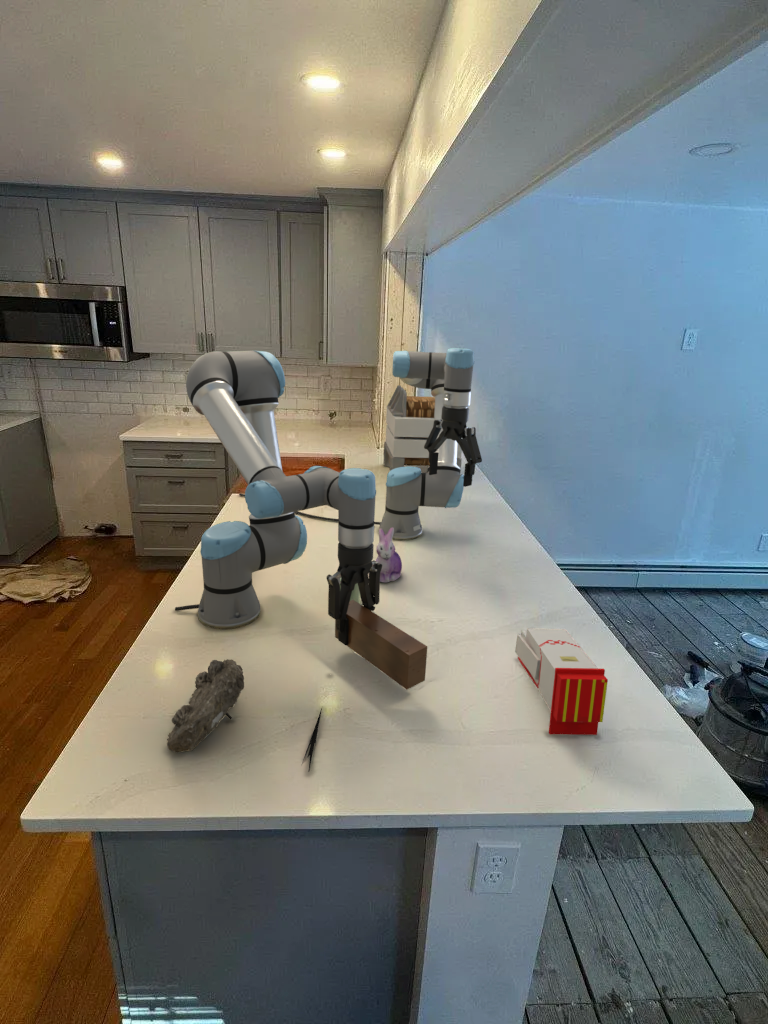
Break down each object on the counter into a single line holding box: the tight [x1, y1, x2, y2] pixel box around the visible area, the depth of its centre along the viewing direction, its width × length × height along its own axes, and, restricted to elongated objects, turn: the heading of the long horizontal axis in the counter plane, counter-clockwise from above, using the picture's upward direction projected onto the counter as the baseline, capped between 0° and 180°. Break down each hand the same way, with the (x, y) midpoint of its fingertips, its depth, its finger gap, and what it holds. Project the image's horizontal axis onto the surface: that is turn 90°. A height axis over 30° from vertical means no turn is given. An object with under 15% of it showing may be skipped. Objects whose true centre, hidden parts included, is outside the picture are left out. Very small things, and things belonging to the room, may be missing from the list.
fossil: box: [166, 658, 245, 754], centre depth 106 cm, size 22×10×15 cm
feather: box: [301, 673, 332, 771], centre depth 108 cm, size 2×28×2 cm
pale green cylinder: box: [339, 578, 362, 604], centre depth 150 cm, size 6×6×8 cm
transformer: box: [383, 384, 463, 472], centre depth 268 cm, size 34×33×41 cm
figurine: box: [375, 528, 403, 583], centre depth 165 cm, size 9×10×15 cm
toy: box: [514, 627, 609, 736], centre depth 119 cm, size 12×13×30 cm
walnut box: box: [334, 600, 428, 691], centre depth 120 cm, size 24×5×8 cm, turn 41°
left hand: (353, 638), depth 127 cm, fingers closed on walnut box, 5 cm apart
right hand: (449, 479), depth 164 cm, fingers open, 13 cm apart
